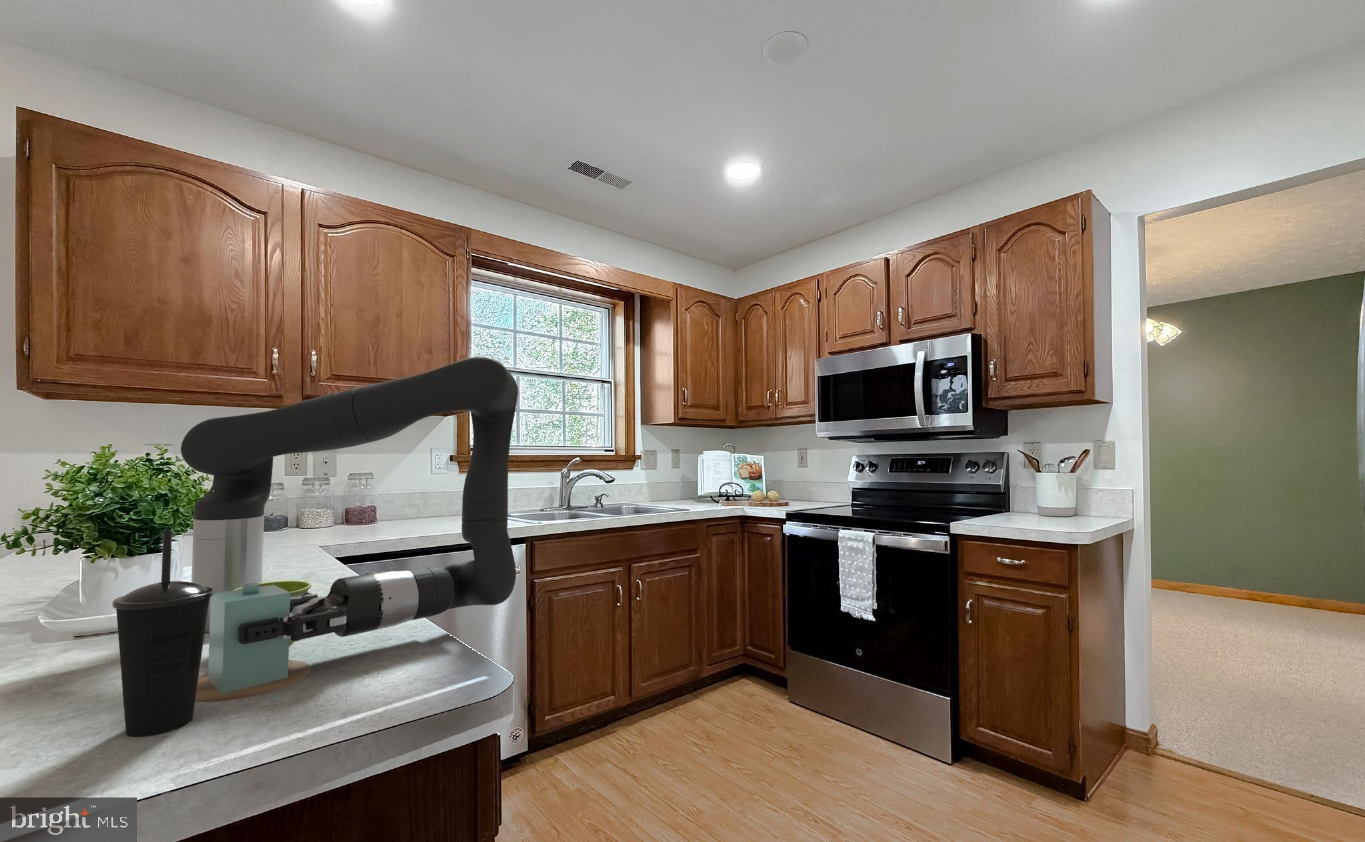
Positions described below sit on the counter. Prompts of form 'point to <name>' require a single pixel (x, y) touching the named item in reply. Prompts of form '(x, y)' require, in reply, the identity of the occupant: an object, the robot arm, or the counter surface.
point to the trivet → (211, 694)
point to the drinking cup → (161, 650)
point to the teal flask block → (255, 660)
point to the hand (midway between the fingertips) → (229, 627)
